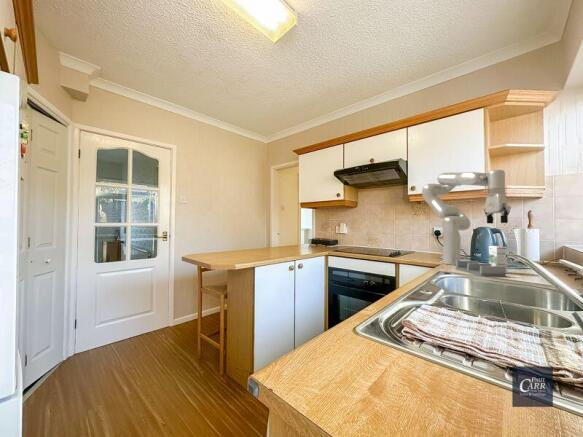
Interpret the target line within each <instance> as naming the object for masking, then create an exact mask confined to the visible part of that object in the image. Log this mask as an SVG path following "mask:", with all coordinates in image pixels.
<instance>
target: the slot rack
mask: <svg viewBox="0 0 583 437" xmlns="http://www.w3.org/2000/svg"><path fill="white" fill-rule="evenodd" d="M455 269H456V270H457V271H460V270H461V271H460V272H464V273H465V272H466V273H469V274H472V275H475V276H480V277H506V274H507V273H506V267H505V266H491V264H489V262H488V263H482V262H481V263H479V260H460V261H456V265H455Z"/></svg>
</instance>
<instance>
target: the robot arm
mask: <svg viewBox="0 0 583 437" xmlns="http://www.w3.org/2000/svg"><path fill="white" fill-rule="evenodd" d="M463 185H465V186H476V187H477V186H478V187H487V195H486V197H485V198H486V199H485V208H484V209H483V212H484V214H485V217H486V224H494V216H493V215H494V214H500V223H501V224H508V221H509V220H508V218H509V215H510V212H511V209H512V206H510V205H509V204H508V199H507V194H506V172H505V170H503V169H494V170H493V169H492V170H490V171H488V172H478V171H477V172H476V171H475V172H474V171H472V172H471V171H470V172H467V171H466V172H463V171H462V172H461V171H460V172H444V173H440V174H439V175H438V176H437V183H427V184H425V185H424V186H423V187H422V190H421V195H422V196H421V197H422V198H423V200H424V201H425V202H426V204H427V205H428V206H429V207H430V208H431V210H432V211H433V213H434V214H435V215H436V216H437V218H440V219H442V221H441V228H442V232H443V233H442V234H443V240H442V241H443V243H442V244H443V245H442V246H443V247H442V250H443V252H442V256H440V259H442V260H440V263H441V264H444V265H453V266H456V261H461V244H462V243H461V235H460V232H459V231H467V230H468V229H470V227H471V220H470V218H468V216H467V215H466V214H465V213H464V212H463V210H462V209H461V208H459V207H458V206H457V205H451V204H446V203H445V202H444V201H443V199H441V198H440V196H441V197H442V196H445V195H448V194H449V193H450V192H451V191H452V190H453V189H455V188H456V187H457V186H458V187H461V186H463Z"/></svg>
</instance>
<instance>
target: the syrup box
mask: <svg viewBox="0 0 583 437" xmlns="http://www.w3.org/2000/svg"><path fill="white" fill-rule="evenodd" d="M506 253H508V247H507V246H500V245H489V246H488V263H489V264H491V266H505V267H506V273H505V274H508V257H507V258H503V257H504V255H505V254H506Z"/></svg>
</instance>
